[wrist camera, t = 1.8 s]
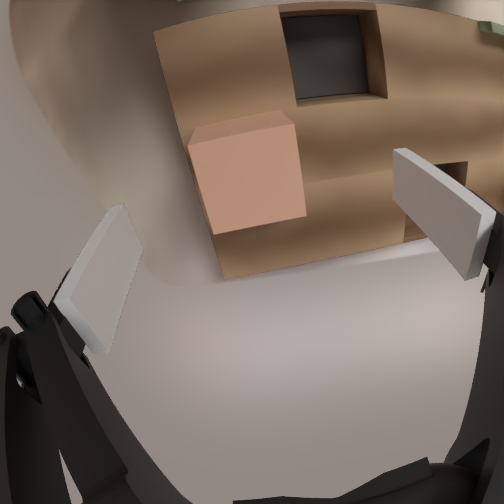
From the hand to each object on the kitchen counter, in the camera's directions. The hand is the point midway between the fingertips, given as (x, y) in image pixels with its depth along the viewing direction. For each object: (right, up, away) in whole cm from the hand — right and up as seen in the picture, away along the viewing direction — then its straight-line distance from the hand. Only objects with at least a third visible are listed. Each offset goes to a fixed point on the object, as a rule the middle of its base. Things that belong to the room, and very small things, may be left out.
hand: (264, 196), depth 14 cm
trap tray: (+9, +7, +6) cm, 13 cm away
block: (-1, +3, +4) cm, 5 cm away
